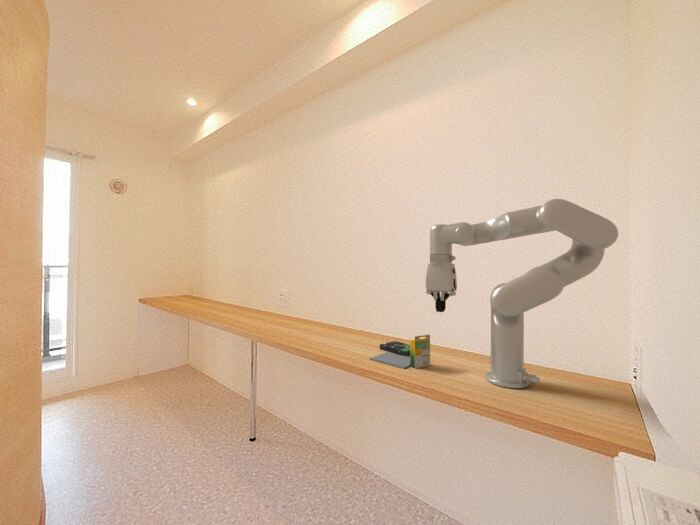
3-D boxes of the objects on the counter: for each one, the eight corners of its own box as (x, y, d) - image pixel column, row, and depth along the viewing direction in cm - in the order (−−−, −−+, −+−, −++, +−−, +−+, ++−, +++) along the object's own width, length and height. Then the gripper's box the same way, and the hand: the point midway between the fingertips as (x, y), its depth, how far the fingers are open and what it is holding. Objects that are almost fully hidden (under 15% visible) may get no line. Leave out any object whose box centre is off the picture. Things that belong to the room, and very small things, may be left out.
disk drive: (379, 350, 136) (405, 358, 125) (378, 344, 136) (405, 351, 125) (394, 346, 143) (420, 353, 131) (394, 340, 143) (420, 346, 131)
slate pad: (421, 361, 119) (421, 360, 119) (404, 368, 110) (404, 367, 110) (387, 353, 130) (387, 352, 130) (369, 359, 121) (369, 358, 121)
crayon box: (425, 363, 116) (425, 332, 116) (430, 365, 114) (430, 334, 114) (409, 366, 113) (409, 334, 113) (414, 368, 110) (415, 336, 111)
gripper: (465, 259, 106) (465, 312, 106) (426, 260, 116) (426, 308, 116) (456, 259, 101) (456, 315, 100) (416, 259, 111) (416, 310, 111)
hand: (440, 311), depth 108 cm, fingers closed
